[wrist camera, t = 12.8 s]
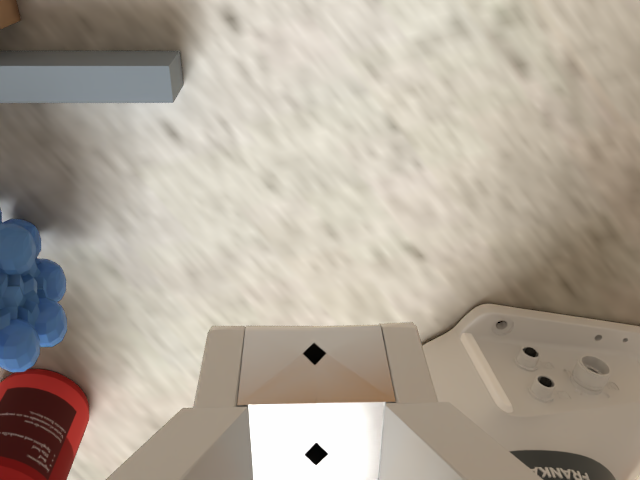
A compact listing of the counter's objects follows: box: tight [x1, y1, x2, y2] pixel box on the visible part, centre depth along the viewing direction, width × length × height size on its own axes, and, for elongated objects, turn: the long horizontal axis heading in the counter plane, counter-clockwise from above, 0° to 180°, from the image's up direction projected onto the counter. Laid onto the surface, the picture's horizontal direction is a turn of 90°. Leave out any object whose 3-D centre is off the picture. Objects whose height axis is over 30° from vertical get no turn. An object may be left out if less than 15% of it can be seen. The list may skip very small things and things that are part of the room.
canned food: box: [0, 369, 89, 480], centre depth 44 cm, size 8×8×11 cm
